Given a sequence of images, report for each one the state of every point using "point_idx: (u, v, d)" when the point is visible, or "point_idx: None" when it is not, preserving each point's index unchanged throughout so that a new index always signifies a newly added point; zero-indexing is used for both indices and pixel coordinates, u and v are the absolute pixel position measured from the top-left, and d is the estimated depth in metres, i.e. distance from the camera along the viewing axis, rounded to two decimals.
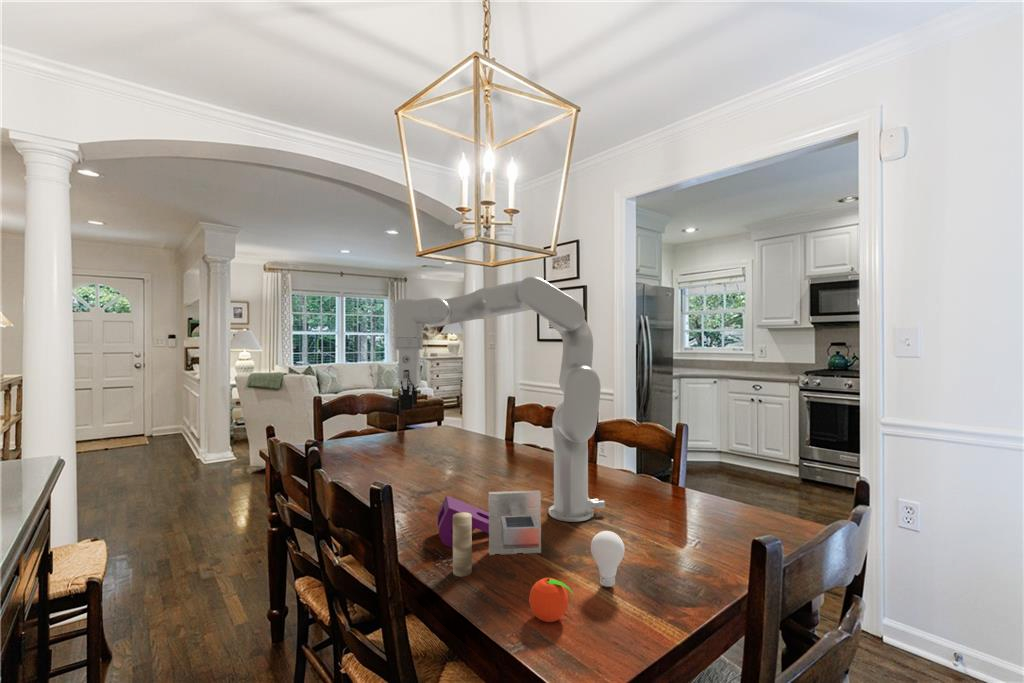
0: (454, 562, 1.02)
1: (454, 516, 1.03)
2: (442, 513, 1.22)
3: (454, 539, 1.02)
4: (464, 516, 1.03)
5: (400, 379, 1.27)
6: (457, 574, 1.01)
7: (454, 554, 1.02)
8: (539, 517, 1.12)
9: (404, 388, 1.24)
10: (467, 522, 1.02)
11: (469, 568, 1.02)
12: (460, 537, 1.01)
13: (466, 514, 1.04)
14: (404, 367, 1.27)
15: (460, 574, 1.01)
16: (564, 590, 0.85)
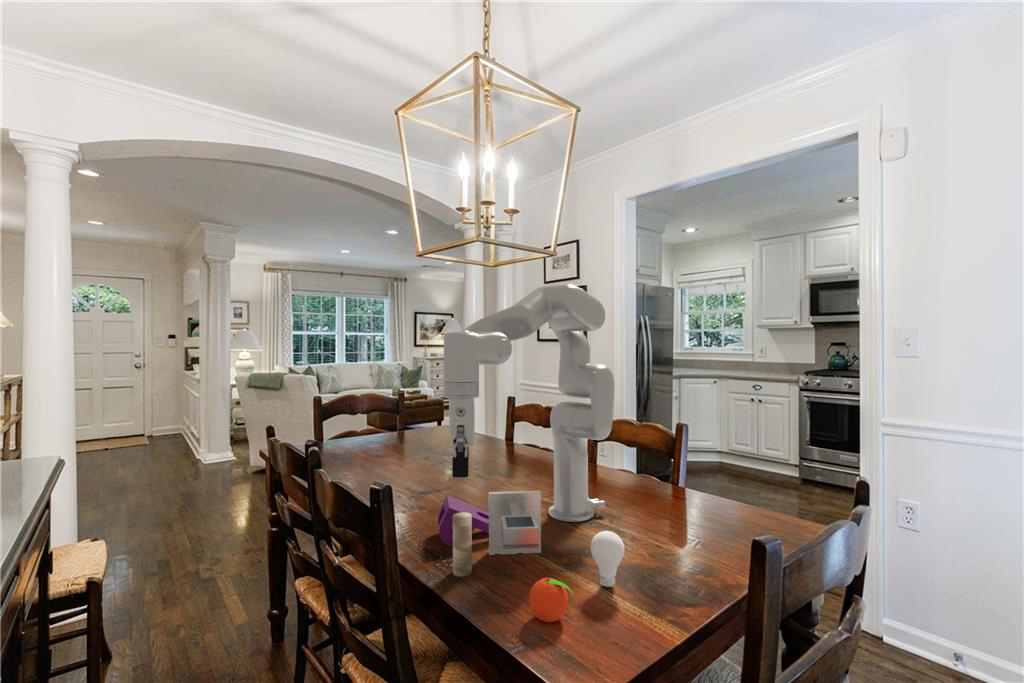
0: (454, 562, 1.02)
1: (454, 516, 1.03)
2: (442, 513, 1.22)
3: (454, 539, 1.02)
4: (464, 516, 1.03)
5: (452, 437, 0.98)
6: (457, 574, 1.01)
7: (454, 554, 1.02)
8: (539, 517, 1.12)
9: (459, 450, 0.95)
10: (467, 522, 1.02)
11: (469, 568, 1.02)
12: (460, 537, 1.01)
13: (466, 514, 1.04)
14: (458, 422, 0.98)
15: (460, 574, 1.01)
16: (564, 590, 0.85)
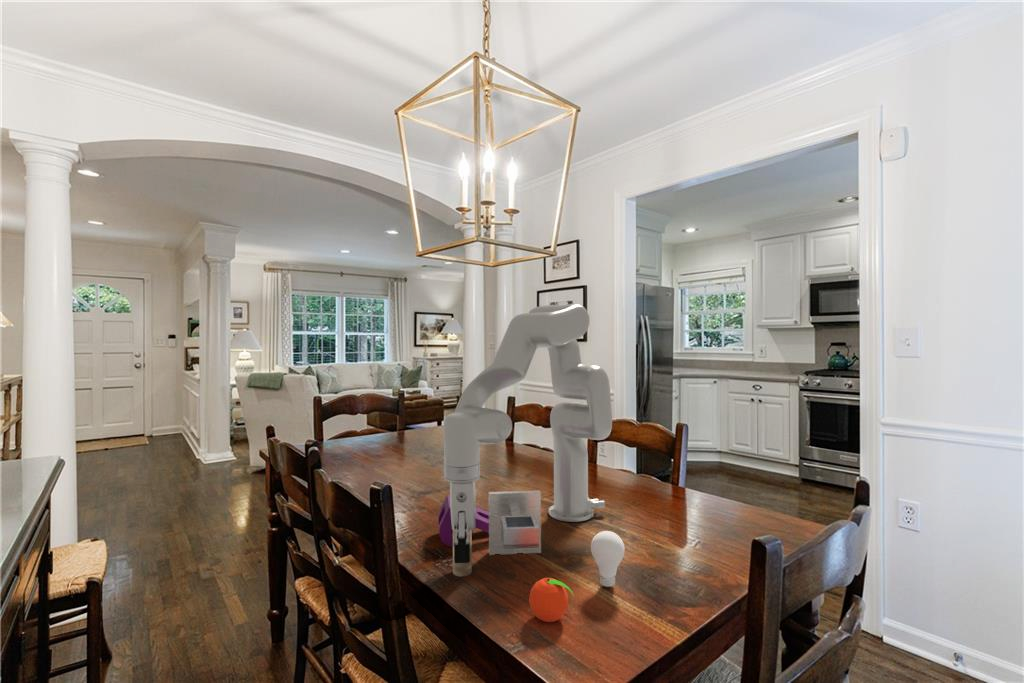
0: (454, 562, 1.02)
1: None
2: (443, 512, 1.22)
3: (454, 539, 1.02)
4: None
5: (453, 523, 0.98)
6: (457, 574, 1.01)
7: None
8: (539, 517, 1.12)
9: (460, 540, 0.98)
10: None
11: (469, 568, 1.02)
12: None
13: None
14: (459, 508, 0.98)
15: (460, 574, 1.01)
16: (564, 590, 0.85)
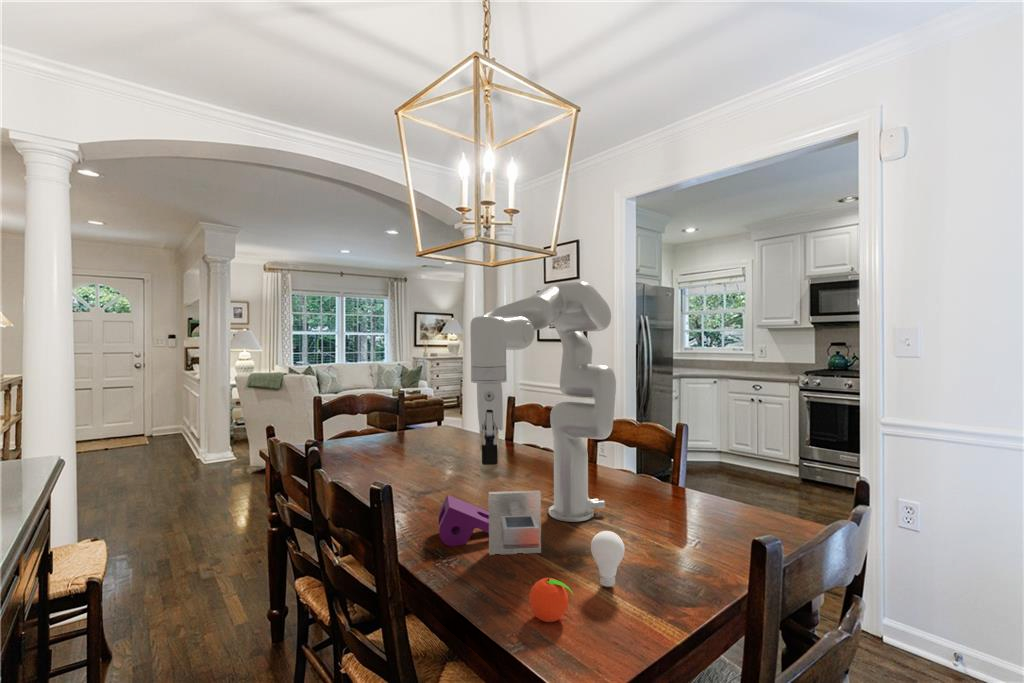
0: (481, 465, 1.01)
1: None
2: (443, 512, 1.23)
3: (481, 442, 1.01)
4: None
5: (481, 422, 0.97)
6: (484, 476, 1.01)
7: (481, 457, 1.01)
8: (539, 517, 1.12)
9: (488, 439, 0.97)
10: None
11: (496, 471, 1.01)
12: None
13: (492, 418, 1.03)
14: (487, 407, 0.97)
15: (487, 476, 1.01)
16: (564, 590, 0.85)
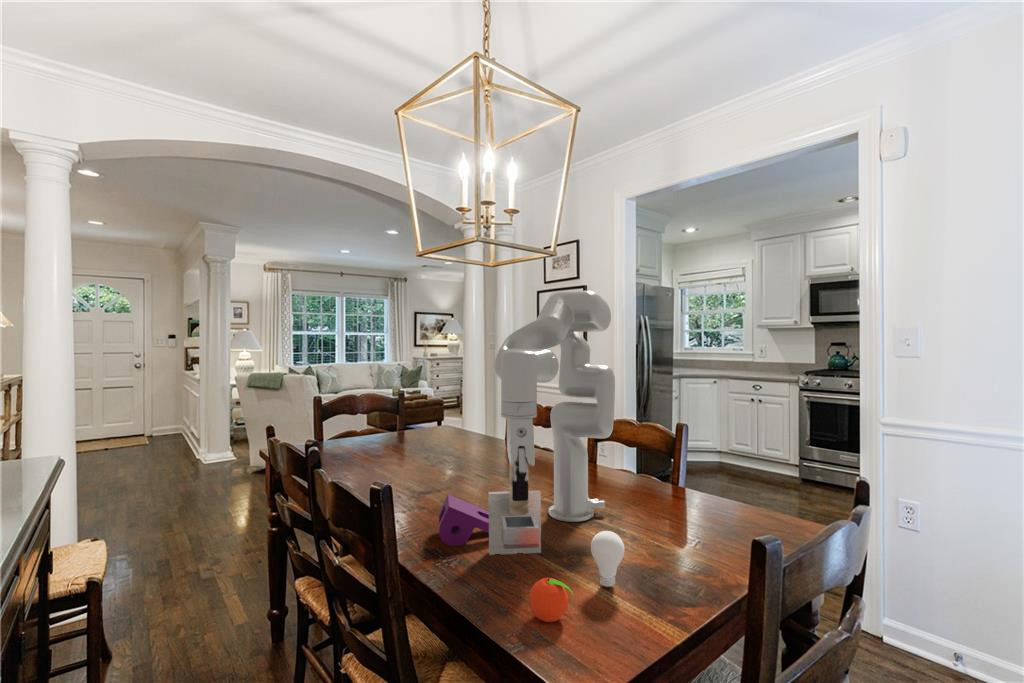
0: (511, 501, 1.00)
1: None
2: (443, 512, 1.23)
3: (511, 477, 1.00)
4: None
5: (513, 458, 0.96)
6: (514, 513, 1.00)
7: (511, 493, 1.00)
8: (539, 517, 1.12)
9: (520, 476, 0.97)
10: None
11: (526, 507, 1.00)
12: None
13: None
14: (519, 443, 0.96)
15: (518, 512, 1.00)
16: (564, 590, 0.85)
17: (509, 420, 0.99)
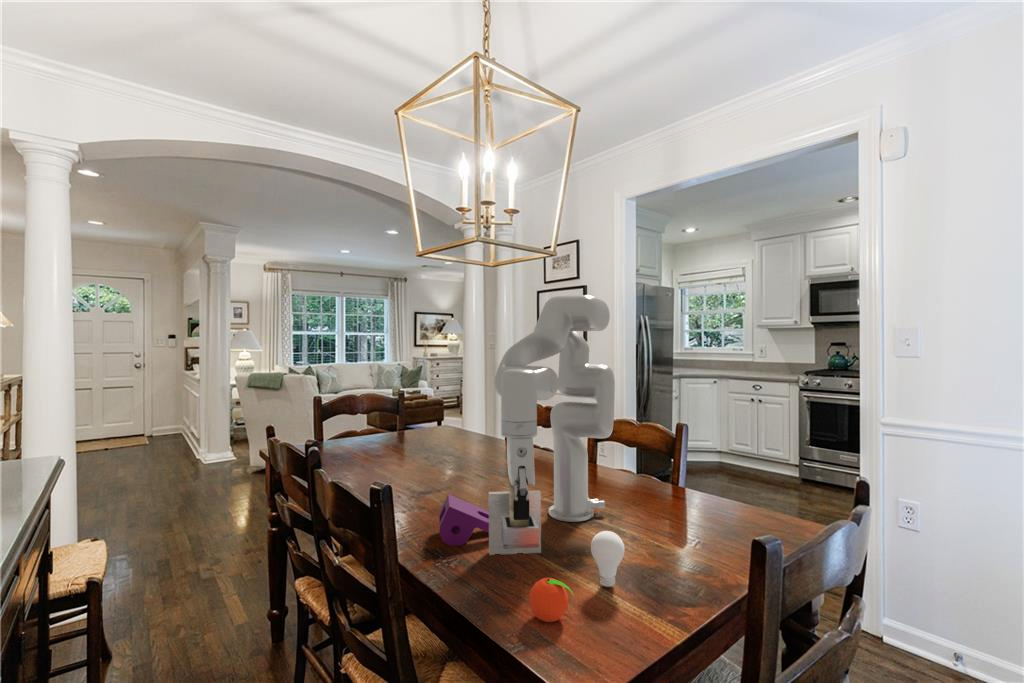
0: (511, 526, 1.01)
1: None
2: (444, 512, 1.23)
3: (511, 502, 1.01)
4: None
5: (514, 478, 0.97)
6: None
7: (511, 517, 1.01)
8: (539, 517, 1.12)
9: (521, 495, 0.95)
10: None
11: None
12: None
13: None
14: (519, 463, 0.97)
15: None
16: (564, 590, 0.85)
17: (509, 439, 0.99)
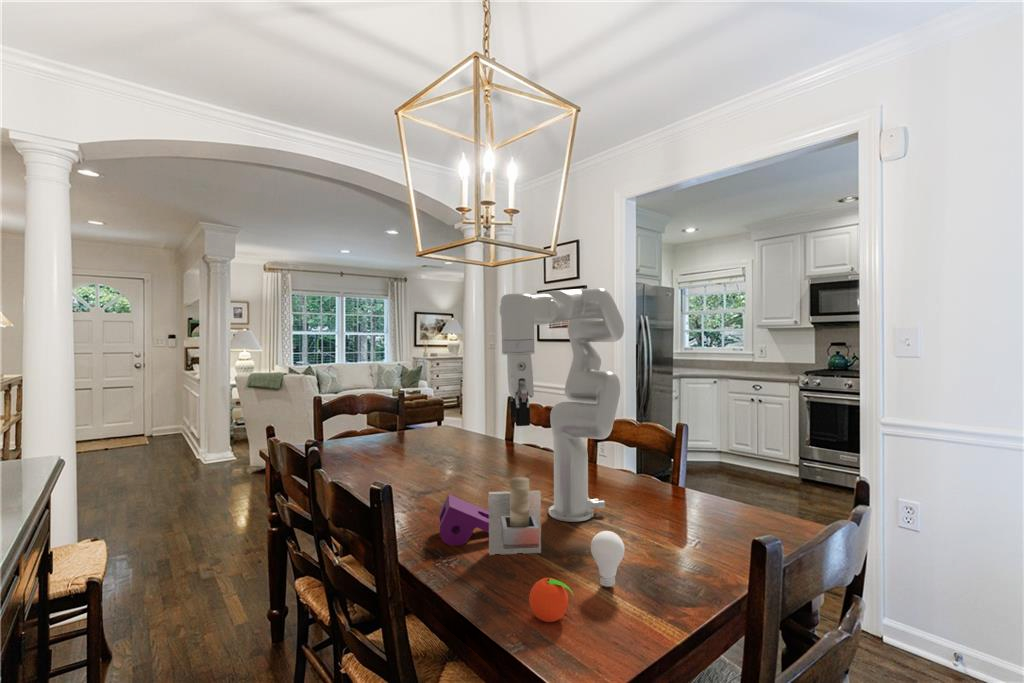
0: (512, 526, 1.01)
1: (512, 480, 1.01)
2: (444, 512, 1.23)
3: (512, 503, 1.00)
4: (521, 480, 1.01)
5: (515, 390, 1.07)
6: None
7: (512, 518, 1.01)
8: (539, 517, 1.12)
9: (523, 401, 1.05)
10: (525, 486, 1.00)
11: None
12: (519, 501, 1.00)
13: (523, 478, 1.03)
14: (519, 376, 1.07)
15: None
16: (564, 590, 0.85)
17: (510, 356, 1.09)
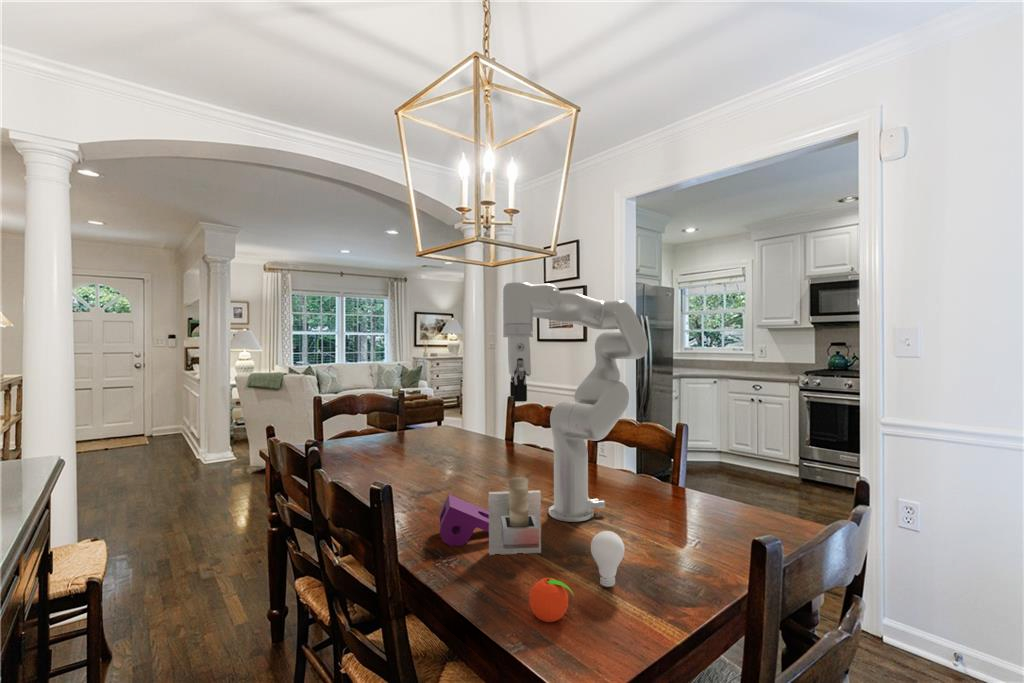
0: (511, 526, 1.01)
1: (510, 480, 1.01)
2: (444, 512, 1.23)
3: (511, 503, 1.00)
4: (520, 480, 1.01)
5: (513, 368, 1.18)
6: None
7: (511, 518, 1.01)
8: (539, 517, 1.12)
9: (520, 378, 1.15)
10: (524, 486, 1.00)
11: None
12: (518, 500, 1.00)
13: (521, 478, 1.03)
14: (518, 356, 1.18)
15: None
16: (564, 590, 0.85)
17: (510, 338, 1.20)
